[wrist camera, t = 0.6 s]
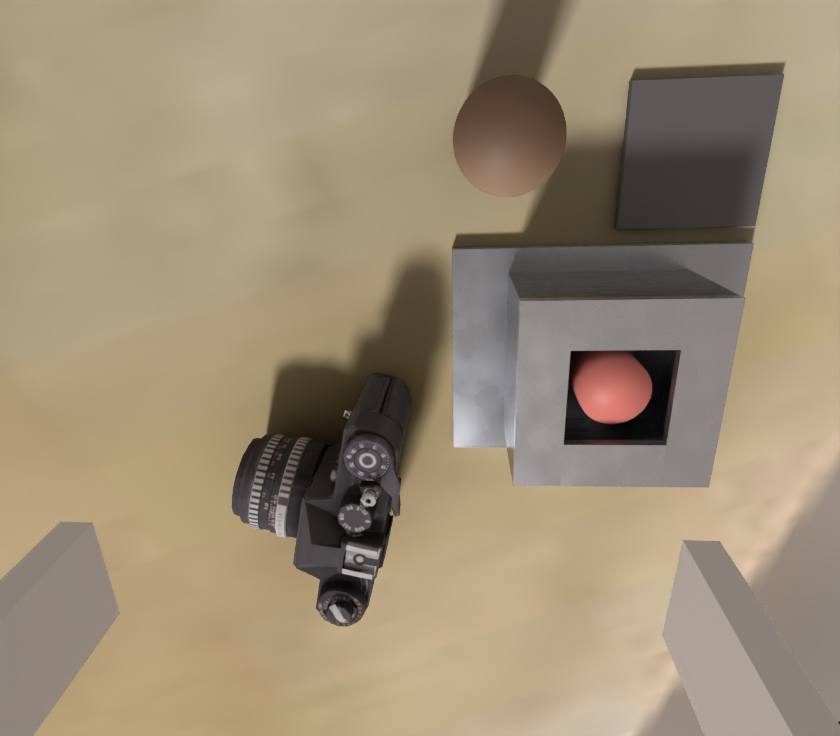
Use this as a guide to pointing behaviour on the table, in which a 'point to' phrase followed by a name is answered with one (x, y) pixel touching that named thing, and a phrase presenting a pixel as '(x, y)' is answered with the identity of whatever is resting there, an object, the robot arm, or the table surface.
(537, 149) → the walnut dowel
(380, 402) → the camera
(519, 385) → the box
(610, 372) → the breaker button
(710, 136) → the rubber mat
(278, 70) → the table surface
